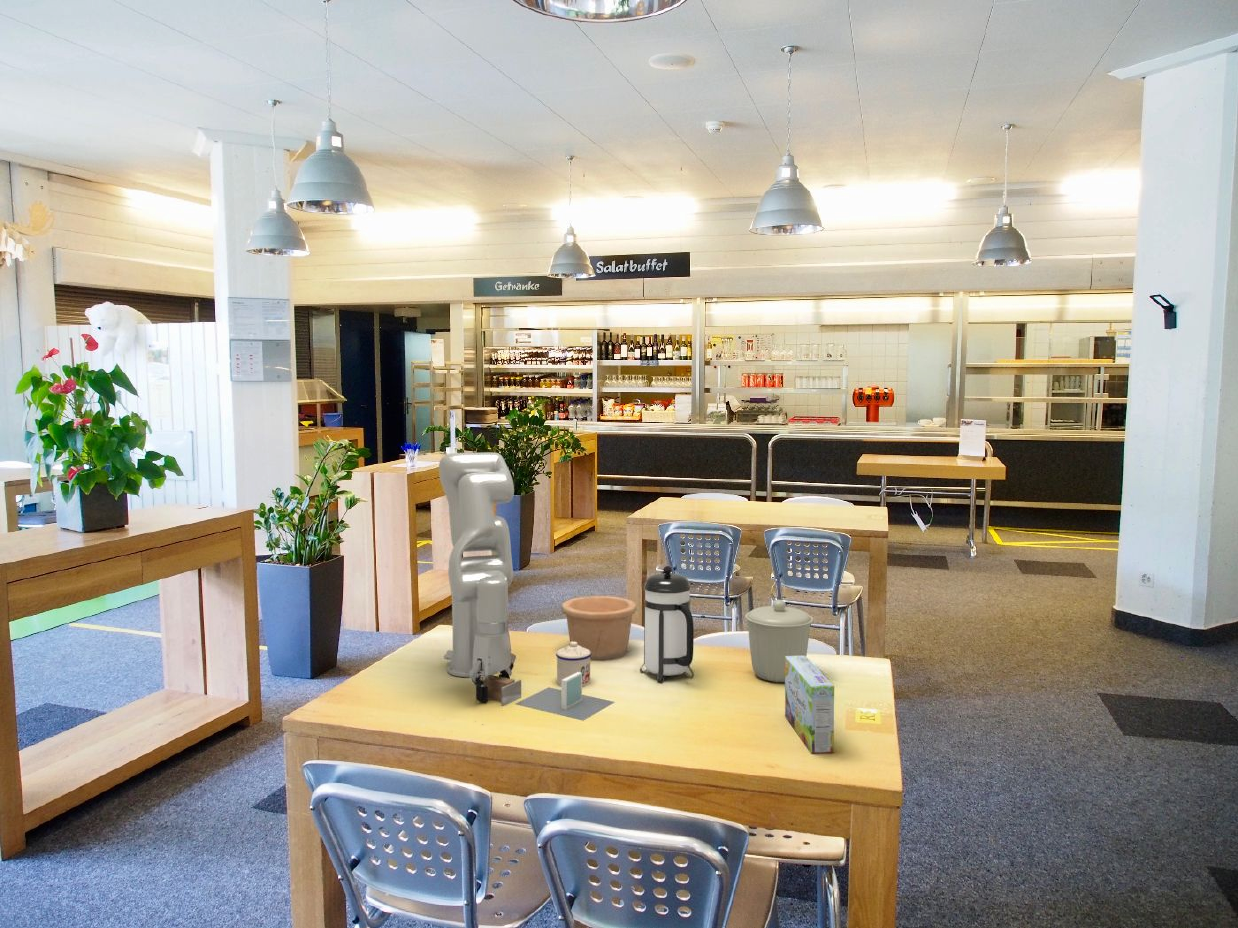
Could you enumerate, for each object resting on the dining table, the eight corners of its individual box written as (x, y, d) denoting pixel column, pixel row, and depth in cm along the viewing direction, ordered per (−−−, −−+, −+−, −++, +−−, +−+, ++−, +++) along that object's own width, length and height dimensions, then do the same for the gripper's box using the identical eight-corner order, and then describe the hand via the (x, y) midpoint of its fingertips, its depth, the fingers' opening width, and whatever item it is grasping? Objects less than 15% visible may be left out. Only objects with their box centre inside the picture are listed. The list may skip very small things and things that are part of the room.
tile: (561, 708, 206) (561, 679, 205) (577, 699, 212) (577, 671, 211) (565, 709, 205) (565, 680, 205) (582, 700, 211) (582, 672, 211)
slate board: (514, 707, 209) (514, 703, 209) (548, 690, 221) (548, 687, 221) (583, 724, 199) (583, 720, 198) (615, 705, 211) (615, 701, 210)
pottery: (649, 648, 258) (649, 601, 257) (609, 668, 239) (610, 617, 238) (589, 637, 269) (589, 592, 268) (547, 655, 251) (547, 607, 250)
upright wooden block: (476, 703, 212) (476, 679, 211) (494, 695, 218) (494, 672, 217) (503, 710, 208) (503, 686, 207) (521, 701, 214) (521, 677, 213)
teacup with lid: (582, 693, 219) (582, 649, 218) (550, 689, 222) (550, 645, 221) (600, 679, 230) (600, 636, 229) (569, 675, 233) (569, 633, 232)
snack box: (782, 717, 204) (783, 654, 203) (805, 716, 204) (807, 654, 203) (809, 754, 183) (811, 685, 182) (835, 753, 183) (837, 684, 182)
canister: (783, 692, 220) (785, 612, 218) (730, 675, 234) (731, 599, 232) (825, 677, 232) (827, 600, 230) (772, 661, 246) (773, 589, 244)
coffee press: (629, 680, 229) (630, 569, 226) (650, 663, 244) (650, 558, 241) (692, 689, 222) (693, 575, 220) (709, 670, 237) (710, 563, 235)
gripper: (503, 617, 221) (503, 683, 223) (457, 633, 207) (458, 703, 208) (526, 621, 218) (526, 688, 219) (481, 637, 203) (482, 709, 204)
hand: (493, 695), depth 213 cm, fingers open, 8 cm apart
